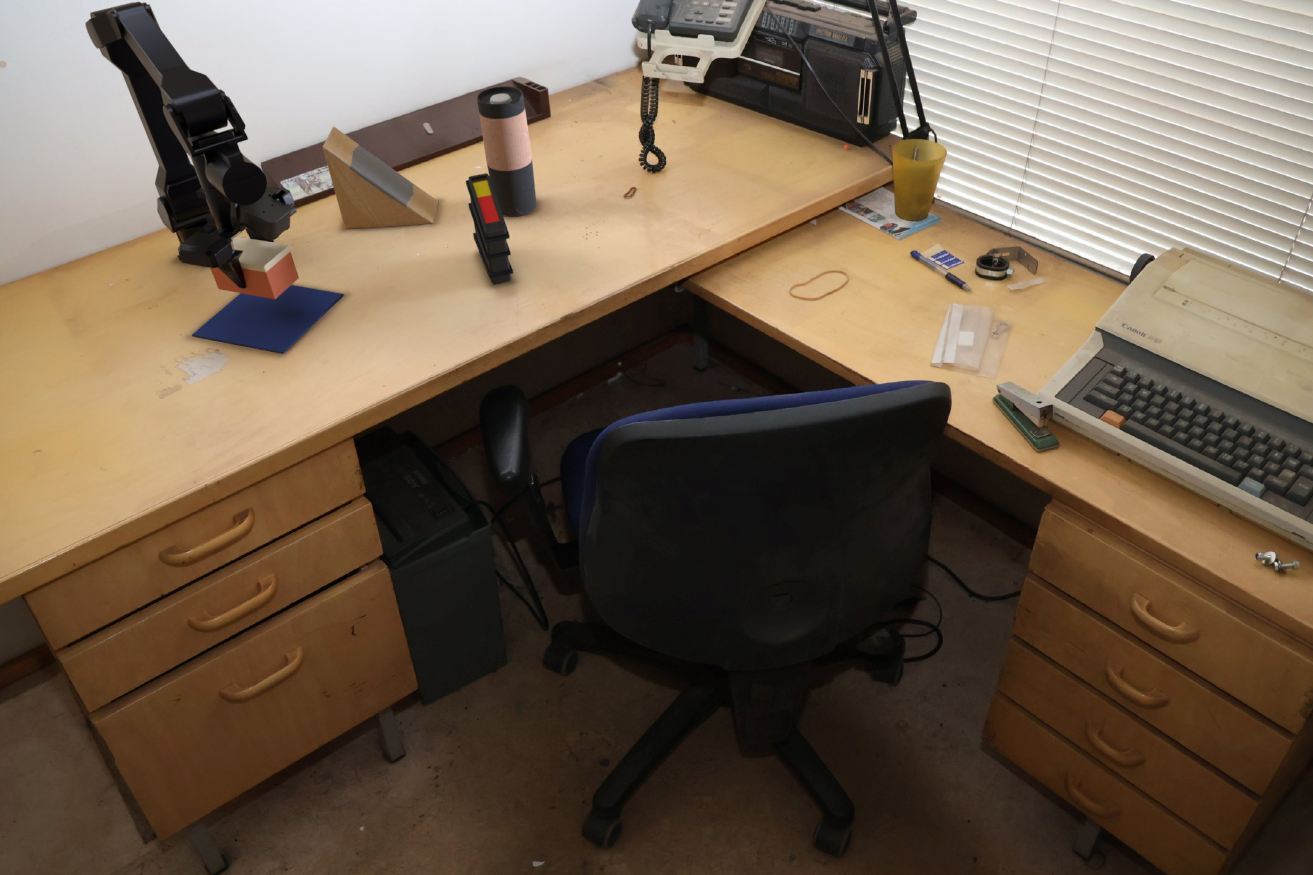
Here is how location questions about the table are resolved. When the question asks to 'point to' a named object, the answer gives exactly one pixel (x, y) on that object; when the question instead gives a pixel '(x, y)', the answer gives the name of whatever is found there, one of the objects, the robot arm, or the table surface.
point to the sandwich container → (373, 188)
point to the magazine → (489, 228)
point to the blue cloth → (268, 318)
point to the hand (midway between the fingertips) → (256, 276)
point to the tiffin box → (261, 268)
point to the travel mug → (508, 149)
